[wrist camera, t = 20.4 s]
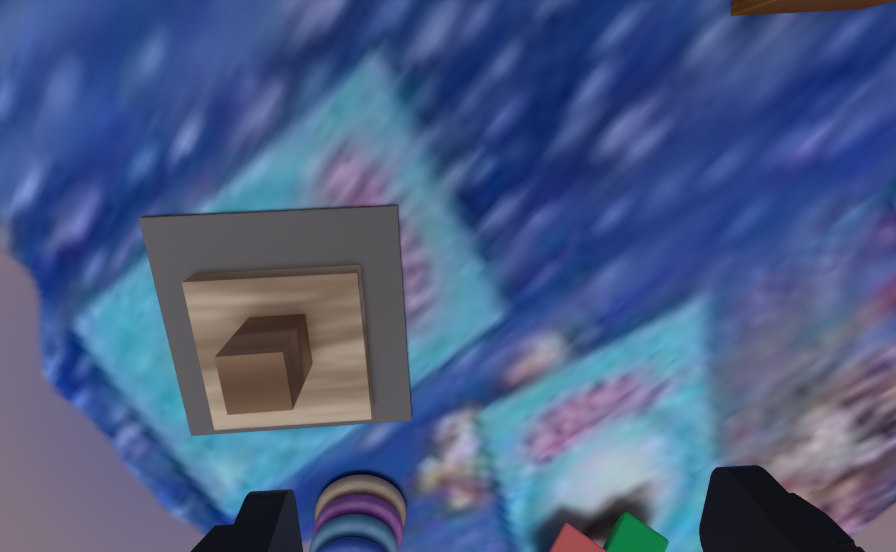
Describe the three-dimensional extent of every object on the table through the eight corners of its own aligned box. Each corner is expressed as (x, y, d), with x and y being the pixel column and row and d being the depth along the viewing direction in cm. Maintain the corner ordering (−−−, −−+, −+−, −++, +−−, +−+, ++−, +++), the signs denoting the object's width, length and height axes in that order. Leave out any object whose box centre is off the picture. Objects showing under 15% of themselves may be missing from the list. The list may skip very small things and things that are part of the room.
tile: (181, 282, 33) (214, 430, 36) (357, 273, 33) (371, 419, 37) (195, 273, 35) (224, 414, 38) (360, 264, 35) (373, 404, 39)
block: (248, 317, 34) (214, 357, 28) (305, 313, 34) (282, 352, 28) (258, 367, 35) (227, 415, 29) (312, 363, 35) (292, 409, 29)
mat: (143, 216, 34) (138, 218, 33) (397, 204, 35) (396, 206, 34) (194, 431, 39) (191, 435, 39) (411, 416, 40) (411, 420, 40)
